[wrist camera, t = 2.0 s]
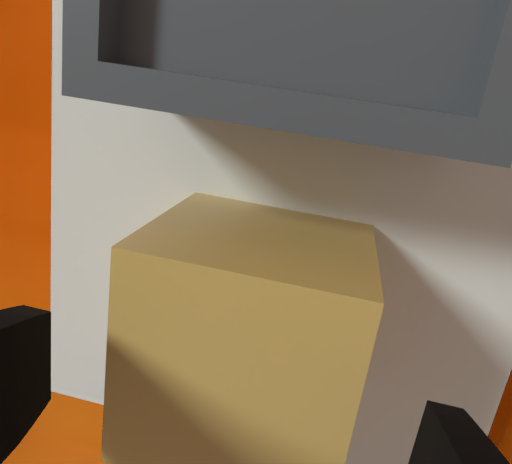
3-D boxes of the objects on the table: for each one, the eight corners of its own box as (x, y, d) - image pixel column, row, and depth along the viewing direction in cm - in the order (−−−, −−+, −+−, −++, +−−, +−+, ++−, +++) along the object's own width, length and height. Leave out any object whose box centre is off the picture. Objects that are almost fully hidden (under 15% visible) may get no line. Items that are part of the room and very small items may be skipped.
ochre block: (337, 382, 14) (329, 524, 10) (179, 344, 15) (100, 460, 10) (373, 224, 13) (384, 303, 8) (195, 192, 14) (111, 246, 9)
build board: (458, 474, 16) (465, 499, 15) (66, 374, 18) (50, 391, 17) (732, -322, 9) (774, -368, 8) (79, -335, 11) (54, -374, 10)
